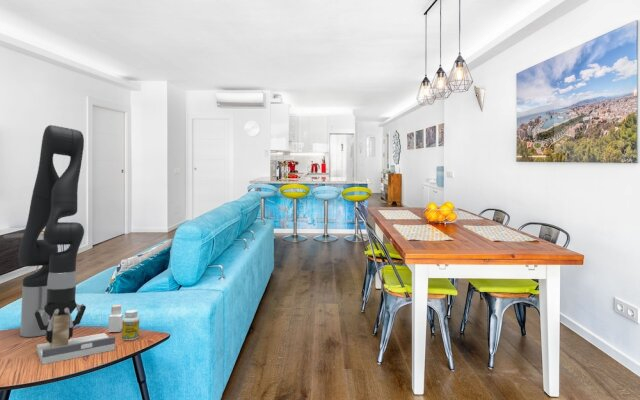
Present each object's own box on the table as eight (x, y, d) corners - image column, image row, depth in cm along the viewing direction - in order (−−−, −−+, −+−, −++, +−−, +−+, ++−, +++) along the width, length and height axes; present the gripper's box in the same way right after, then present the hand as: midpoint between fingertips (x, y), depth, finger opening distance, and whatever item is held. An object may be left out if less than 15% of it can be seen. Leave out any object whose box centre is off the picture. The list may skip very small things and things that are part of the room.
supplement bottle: (137, 335, 137) (138, 308, 138) (139, 339, 133) (141, 312, 133) (120, 337, 134) (122, 310, 135) (122, 342, 130) (123, 314, 130)
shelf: (36, 351, 120) (37, 338, 120) (104, 338, 133) (104, 327, 133) (42, 364, 110) (43, 350, 110) (114, 350, 123) (115, 337, 123)
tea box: (52, 350, 116) (54, 317, 116) (49, 344, 120) (51, 312, 120) (68, 347, 119) (70, 314, 119) (65, 341, 123) (66, 310, 123)
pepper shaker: (120, 332, 139) (121, 306, 139) (107, 333, 138) (109, 307, 138) (122, 329, 143) (123, 304, 143) (110, 330, 142) (111, 304, 142)
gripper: (85, 281, 127) (82, 332, 127) (32, 286, 118) (29, 342, 117) (90, 285, 122) (87, 339, 122) (35, 290, 112) (32, 349, 112)
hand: (59, 340), depth 119 cm, fingers closed on tea box, 4 cm apart
